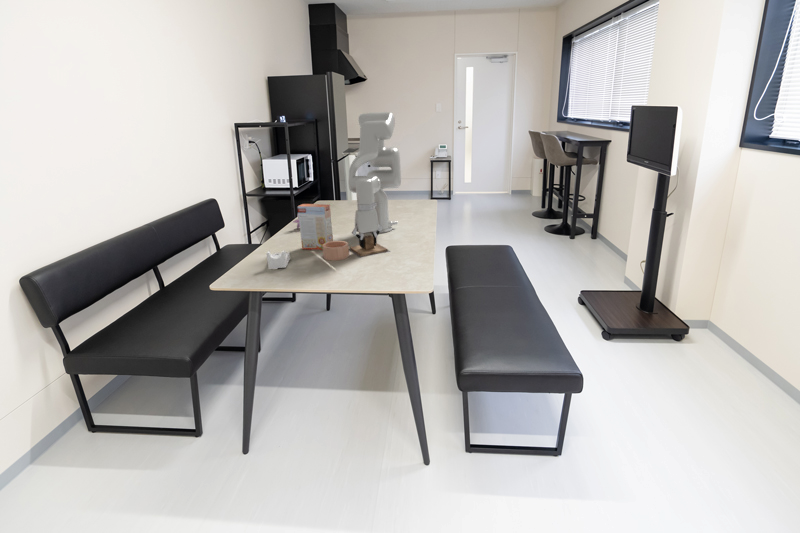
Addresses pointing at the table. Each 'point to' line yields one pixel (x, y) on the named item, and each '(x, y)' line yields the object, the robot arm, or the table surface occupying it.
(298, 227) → the lily
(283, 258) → the bracket
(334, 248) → the bowl
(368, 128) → the robot arm
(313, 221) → the cracker box
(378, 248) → the lid
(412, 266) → the table surface
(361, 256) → the mat
